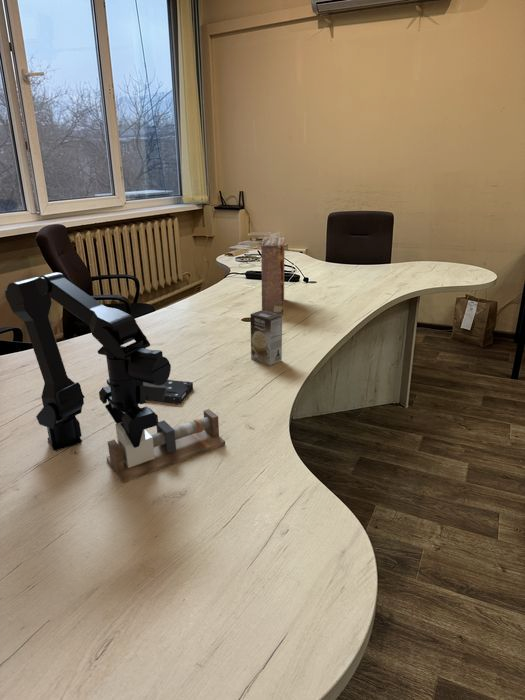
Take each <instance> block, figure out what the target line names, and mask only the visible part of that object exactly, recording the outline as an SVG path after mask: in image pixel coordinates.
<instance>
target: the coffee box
mask: <svg viewBox="0 0 525 700" xmlns="http://www.w3.org/2000/svg"><path fill="white" fill-rule="evenodd" d="M249 316H250V359H251V360H253V361H257V362H259V363H262V364H264V365H267V366H269V365H270V366H272V364H273V365H274V363H275V364H278V363H279V362H281V361H280V360H282V359H283V358H282V355H283V353H282V351H283V315H282V314H276V313H272V312H269V311H265V310H262V309H261V310H258V311H255V312H253V313H250V315H249Z"/></svg>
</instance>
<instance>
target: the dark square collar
mask: <svg viewBox="0 0 525 700" xmlns="http://www.w3.org/2000/svg"><path fill="white" fill-rule="evenodd" d="M155 428H156V433H159V432H163V433H164V434H165V438H166V444H163V445H160V446H161V447H162V448H163V449H164V450H165V451H166V452H167V453H168V454H169V453H172V452H174V451H176V442H175V430H174V429H173V428H174V427H172V426H171V425H170V424H169V423H168V422H167V421H166V420H161V421H158V425H157V426H155Z"/></svg>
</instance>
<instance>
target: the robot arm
mask: <svg viewBox="0 0 525 700" xmlns="http://www.w3.org/2000/svg"><path fill="white" fill-rule="evenodd" d="M4 291H5V293H4V295H5V299H6V301H7V302H8V304H9V307H10V309H11V311H12V313H13V314H14V315H16V317H18V319H20V320H21V321H23V323H24V325H25V328H26V330H27V334H28V337H29V339H30V342H31V343H30V344H31V346H32V349H33V352H34V355H35V358H36V361H37V363H38V368H39V370H40V374H41V376H42V379H43V382H44V385H43V388H42V393H41V401H42V405H43V407H42V409H40V411H39V412H38V413H37V414H36V416H35V417H36V419H37V422H38V424H39V425H40V426H43V427H46V428H47V429H46V430H47V434H48V435H47V436H48V437H47V441H48V443H49V445H50V447H51V449H52V450H53V451H54V452H56V451H59V450H63V449H65V448H66V449H67V448H69V447H72V446H75V445H78V444H81V443H82V442H83V441H82V438H81V437H83V436H82V435H83V434H82V430H81V429H82V428H81V424H80V421H79V419H78V418H77V415H80V414H82V409H83V406H84V404H85V402H84V401H85V400H84V398H85V396H84V393H83V392H82V388H81V384H80V383H79V382H74V381H73V380H72V379H71V378H69V376H68V375H67V371H66V368H65V365H64V361H63V357H62V355H61V353H60V352H61V351H60V348H59V345H58V343H57V340H56V336H55V333H54V330H53V327H52V324H51V320H50V312H51V308H52V305H53V304H52V303H53V302H52V300H53V301H55V302H56V303H58V304H59V305H60V306H62V307H63V308H64V309H66V310H67V311H68V312H70V313H71V314H73V315H74V316H75V317H77V318H78V319H80V320H81V321H82V322H84V323H85V324H86V325H87V326H88V328H89V330H90V333H91V335H92V337H93V338H94V339H95V340H97V341H98V342H99V344H101V347H100V348H99V349H98V350H97V353H98V355H102V356H106V357H105V358H106V365H107V374H108V378H107V379H106V380H105V381H106V384H107V385H106V386H103V387H101V389H100V390H99V392H98V394H99V395H98V396H99V400H100V401H101V403H102V404H103V405H105V409H106V410H107V413H109V415H110V416H111V418H112V419H113V421H114V423H115V424H117V423H120V425H121V427H122V428H123V430H124V432H125V433H126V435H127V437H128V438H129V440H130V442H131V443H132V445H133V447H134V448H136V447H139V445H140V441H141V436H142V432H143V430H144V429H145V430H147V429H150V428H154V427H156V426H157V425H158V422H159V417H158V414H157V413H156V412H154V411H153V409H151V408H150V407H148V406H144V407H140V406H139V405H144V404H146V403H147V401H146V400H158V401H163V400H164V396H165V392H166V388H167V387H166V386H165V385H163V384H164V383H165V382H166V381H167V380H169V378H170V375H171V371H172V369H171V368H172V367H171V366H172V365H171V363H170V361H169V359H168V358H167V357H166V356H163V351H162V350H159V349H149V348H148V347H150V346H151V343H150V342H149V339H148V338H147V336H146V335H145V334H144V333H143V331H142V329H141V327H140V326H139V325H138V323H137V320H136V319H135V318H134V316H132V315H131V314H129V313H127V312H126V311H123V310H121V309H119V308H115V307H108V306H105V305H104V304H102V303H100V302H99V301H98V300H97V299H95V298H94V297H92V296H90V295H89V294H88V293H86V292H85V291H84V290H82V289H81V288H80V287H78V286H76V285H75V284H73V282H71V281H69V280H68V279H67V277H66V276H65V275H64V274H63V273H61V272H56V271H55V272H51V273H47V274H43V275H41V276H34V277H29V278H24V279H22V280H21V279H19V280H17V281H16V280H15V281H12V282H10V283H8V284H7V287H6V289H5V290H4ZM132 341H134V342H132ZM130 342H132V343H130ZM127 343H130V344H128V345H126V344H127ZM124 345H126V346H124ZM121 422H122V423H121Z"/></svg>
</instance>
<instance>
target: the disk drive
mask: <svg viewBox="0 0 525 700" xmlns="http://www.w3.org/2000/svg"><path fill="white" fill-rule="evenodd" d="M163 385H165V386H166V387H167V388H166V392H165V396H164V400H163V401H158V400H146V402H157V403H165V404H174V405H175V404H176V405H181V404H182V402H183V401H185V399H186V398H187V397H189V396H188V395H189V394H191V393H192V391H193V390H194V383H193V382H192V381H186V380H185V381H184V380H173V379H172V380H171V379H168V380H167V381H166V382H165V383H164V384H163Z"/></svg>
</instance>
